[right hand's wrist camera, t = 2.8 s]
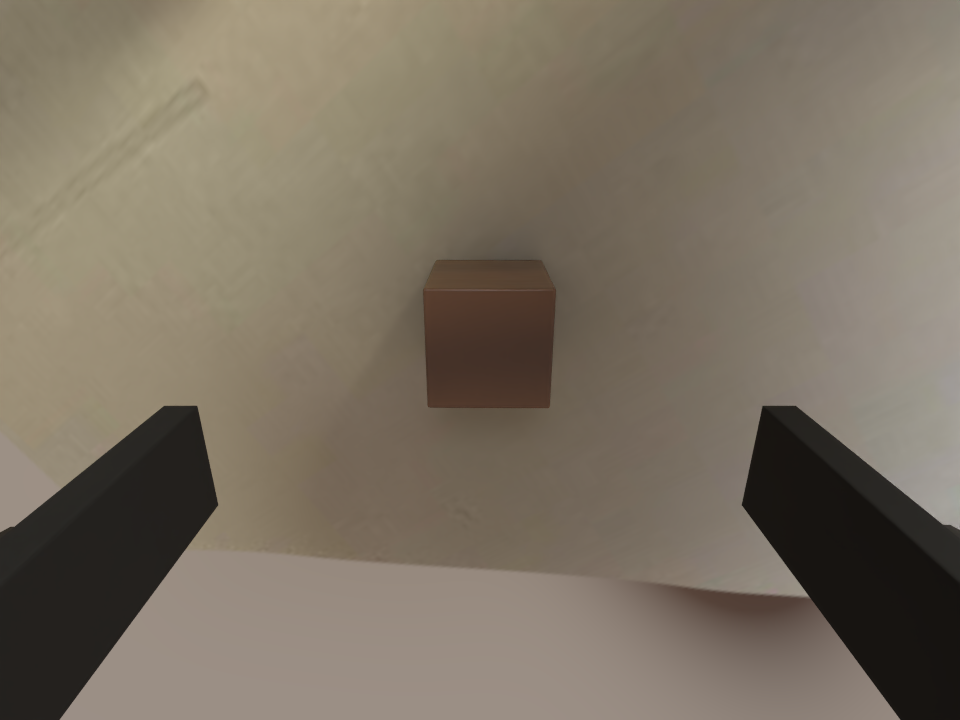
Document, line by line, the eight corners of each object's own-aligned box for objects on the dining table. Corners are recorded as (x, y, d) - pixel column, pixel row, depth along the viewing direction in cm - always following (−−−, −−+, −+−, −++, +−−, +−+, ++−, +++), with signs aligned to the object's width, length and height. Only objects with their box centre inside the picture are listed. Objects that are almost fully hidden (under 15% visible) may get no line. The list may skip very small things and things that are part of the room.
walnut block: (435, 259, 23) (422, 288, 18) (541, 259, 23) (556, 288, 18) (438, 358, 24) (427, 408, 20) (537, 359, 24) (550, 408, 20)
